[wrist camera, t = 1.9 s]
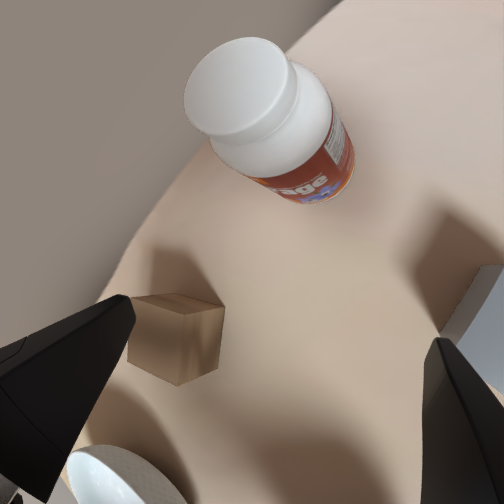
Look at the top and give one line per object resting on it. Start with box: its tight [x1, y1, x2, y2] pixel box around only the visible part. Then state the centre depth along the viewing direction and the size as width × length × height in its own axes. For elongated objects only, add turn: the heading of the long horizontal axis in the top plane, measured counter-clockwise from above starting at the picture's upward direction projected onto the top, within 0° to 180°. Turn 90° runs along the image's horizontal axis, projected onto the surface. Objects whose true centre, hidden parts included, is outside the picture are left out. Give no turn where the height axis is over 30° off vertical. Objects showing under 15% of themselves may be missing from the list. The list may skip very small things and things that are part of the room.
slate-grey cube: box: [439, 265, 504, 395], centre depth 13 cm, size 5×5×5 cm
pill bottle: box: [183, 37, 355, 205], centre depth 16 cm, size 6×6×11 cm
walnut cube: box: [127, 294, 225, 386], centre depth 22 cm, size 5×5×5 cm
